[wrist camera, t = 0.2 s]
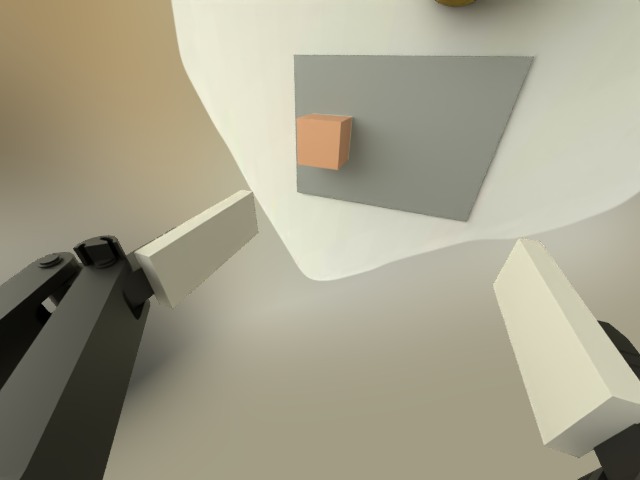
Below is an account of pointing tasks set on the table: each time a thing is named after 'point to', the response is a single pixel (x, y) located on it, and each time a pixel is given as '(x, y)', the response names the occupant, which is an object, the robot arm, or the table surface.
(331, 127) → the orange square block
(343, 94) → the mat
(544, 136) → the table surface
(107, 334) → the robot arm
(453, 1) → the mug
